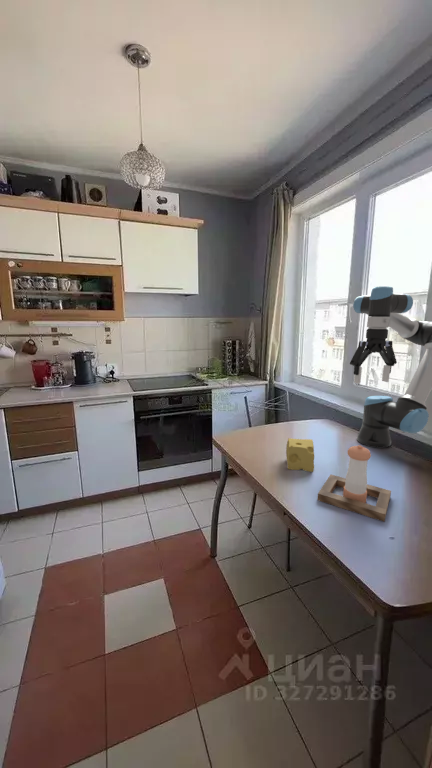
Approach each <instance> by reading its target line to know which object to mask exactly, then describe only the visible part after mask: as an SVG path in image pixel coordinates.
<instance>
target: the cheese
mask: <svg viewBox="0 0 432 768" xmlns="http://www.w3.org/2000/svg"><path fill="white" fill-rule="evenodd" d="M285 449H286V451H285V454H286V455H285V456H286V464H287V470H292V471H300V470H302V471H304V472H310V473H314V471H315V464H314V463H315V450H314V449H315V447H314V440H313V439H311V438H308V439H307V438H306V439H302V438H300V439H299V438H291V437H290V438H289V437H288V439H287V443H286V447H285Z"/></svg>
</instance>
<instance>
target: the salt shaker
mask: <svg viewBox="0 0 432 768" xmlns="http://www.w3.org/2000/svg"><path fill="white" fill-rule="evenodd" d="M346 453H347V456H348V457H349V460H348V468H347V472H346V475H345V478H346V480H345V486H344V488H343V492H342V496H344V497H347V498H350V499H354V500H357V501H360V502H363V503H367V498H368V495H367V490H366V488H367V484H368V475H367V468H368V461H369V460H370V459H371V456H372V455H371V451H370V450H369V449H368V448H366V447H364V446H363V445H361V444H360V445H359V444H358V445H353V446H350V447H349V448H348V449H347V452H346Z"/></svg>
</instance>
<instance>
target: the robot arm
mask: <svg viewBox="0 0 432 768" xmlns="http://www.w3.org/2000/svg"><path fill="white" fill-rule="evenodd" d="M413 305H414V298H413V297H412V295H410V294H409V293H405V292H401V293H400V292H399V293H398V292H397V293H396V292H394V288H393V286H391V285H389V286H387V285H383V286H381V285H380V286H374V287H372V288H371V290H370V294H364V295H359V296H357V297H356V298H355V299H354V301H353V305H352V306H353V311H354V312H355V313H357V314H365V315H367V321H366V322H367V323H366V327H367V329H366V332H365V338H366V340H359V341H358V346H357V348H356V350H355V352H354V353H353V356H352V357H351V360H350V362H349V365H351V366H352V367H353V375H354V380H353V383H355V384H358V385H359V384H361V379H362V372H363V371H362V370H363V367H362V364H363V363H364V362H365V361H366V360H367V359H368V357H369V356H370V355H371V354H375V353H377V354H379V355H380V358H382V360H383V362H384V365H383V367H382V368H383V369H382V377H381V381H382V382H385V383H389V381H390V375H391V372H392V367H394V366H395V365H396V364H397V362H398V361H397V358H396V355H395V351H394V348H393V341H392V340H387V339H388V336H389V329H388V328H390V329H392V330H393V331H395V332H397V334H398V335H399V336H400V337H401V338H403V339H404V340H407V341H408V342H410V343H412V344H415V345H419V346H421V347H424V349H425V351H424V354H423V356H422V357H421V360H420V362H419V364H418V366H417V368H416V369H415V372H414V374H413V376H412V378H411V380H410V382H409V384H408V386H407V388H406V390H405V392H404V395H402V396H399V397H398V398H397V400H396V401H394V399H393V397H392V396H387V395H371V396H368V397H366V398H365V400H364V404H363V416H362V424H361V427H360V429H359V432H358V433H357V435H356V441H357V442H358V443H360V444H362V445H365V446H367V447H373V448H377V449H378V448H381V449H382V448H389V447H391V445H392V438H391V433H390V427H391V428H393V429H396V430H399V431H401V432H403V433H409V434H417V433H419V432H421V431H422V430H423V429H425V427H426V425H427V424H428V421H429V415H430V414H429V412H428V410H427V409H428V407H427V405H426V402H427V399H428V398H429V396H430V393H431V391H432V321H427V320H426V321H422V320H417V319H416V318H411V317H407V315H405V314H406V313H407V312H409V311H410V310H411V309H412V308H413ZM404 313H405V314H404ZM388 446H389V447H388Z"/></svg>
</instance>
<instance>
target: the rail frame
mask: <svg viewBox="0 0 432 768" xmlns="http://www.w3.org/2000/svg"><path fill="white" fill-rule="evenodd" d="M345 480H346V477H343V476H337V475H334V474H329V476H328V478H327V479H326V481H325V482H324V483H323V485H322V486H321V488H320V490H318V493H317V501H319V502H322V503H325V504H326V505H327V504H328V505H331V506H333V507H334V506H335V507H338V508H340V509H344V510H347V511H350V512H353V513H355V514H359V515H362V516H365V517H368V518H371V519H374V520H376V521H377V520H378V521H381V522H384V523H385V520H386V517H387V513H388V509H389V504H390V500H391V495H392V490H390V489H387V488H382V487H379V486H375V485H371V484H368V483H367V488H366V490H367V497H368V496H370V497H372V498H376V499H377V501H376V504H375V505H373V504H370V503H367V502H366V503H363V502H360V501H357V500H354V499H350V498H347V497H344V496H343V495H340V494H337V493H334V491H335V489H336V488H337V487H338V488H341V489H344V486H345Z"/></svg>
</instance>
